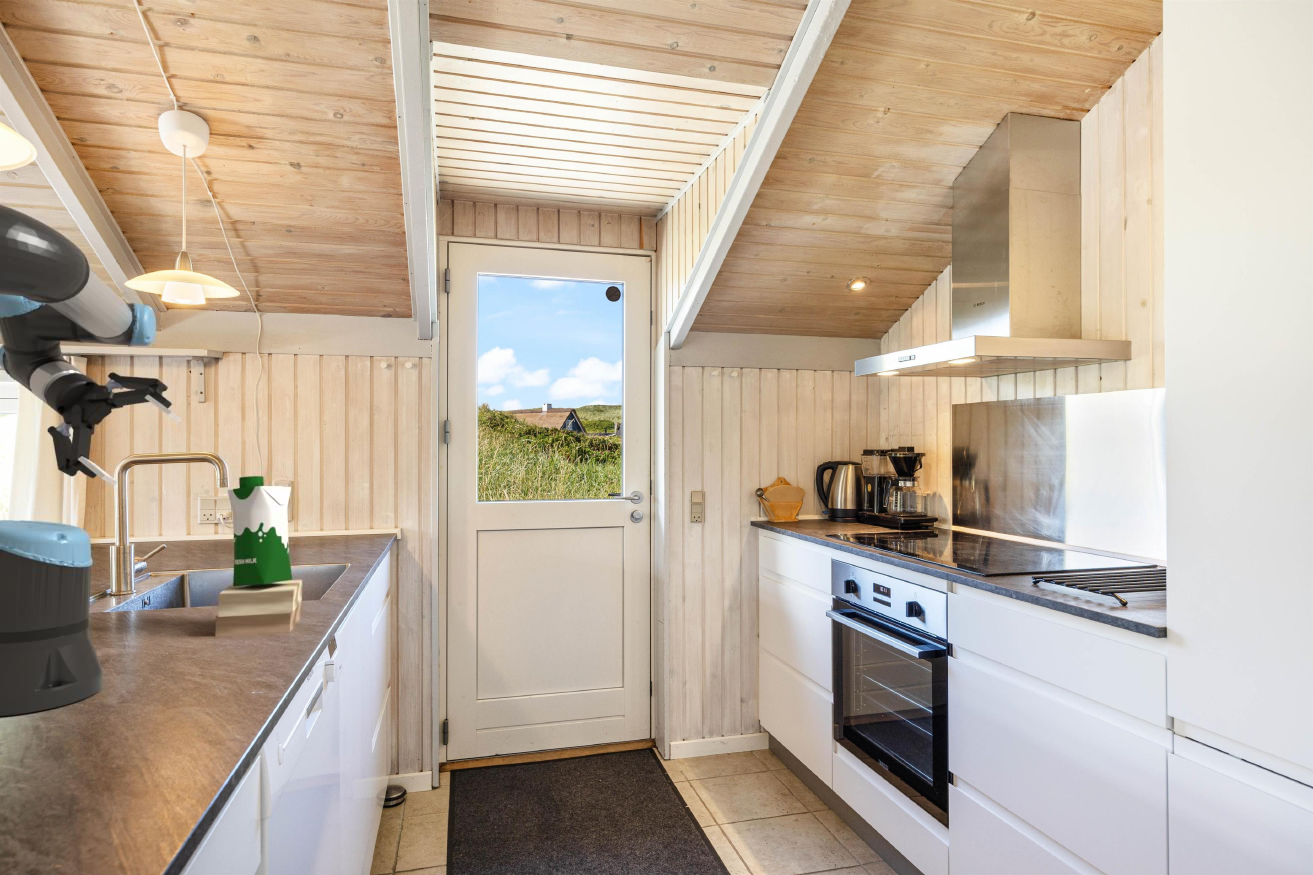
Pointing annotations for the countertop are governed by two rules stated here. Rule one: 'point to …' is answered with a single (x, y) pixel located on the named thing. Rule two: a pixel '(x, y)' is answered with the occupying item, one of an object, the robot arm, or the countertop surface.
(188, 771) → the countertop surface
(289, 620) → the block lower
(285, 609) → the block upper
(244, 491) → the fresh milk carton
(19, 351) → the robot arm
